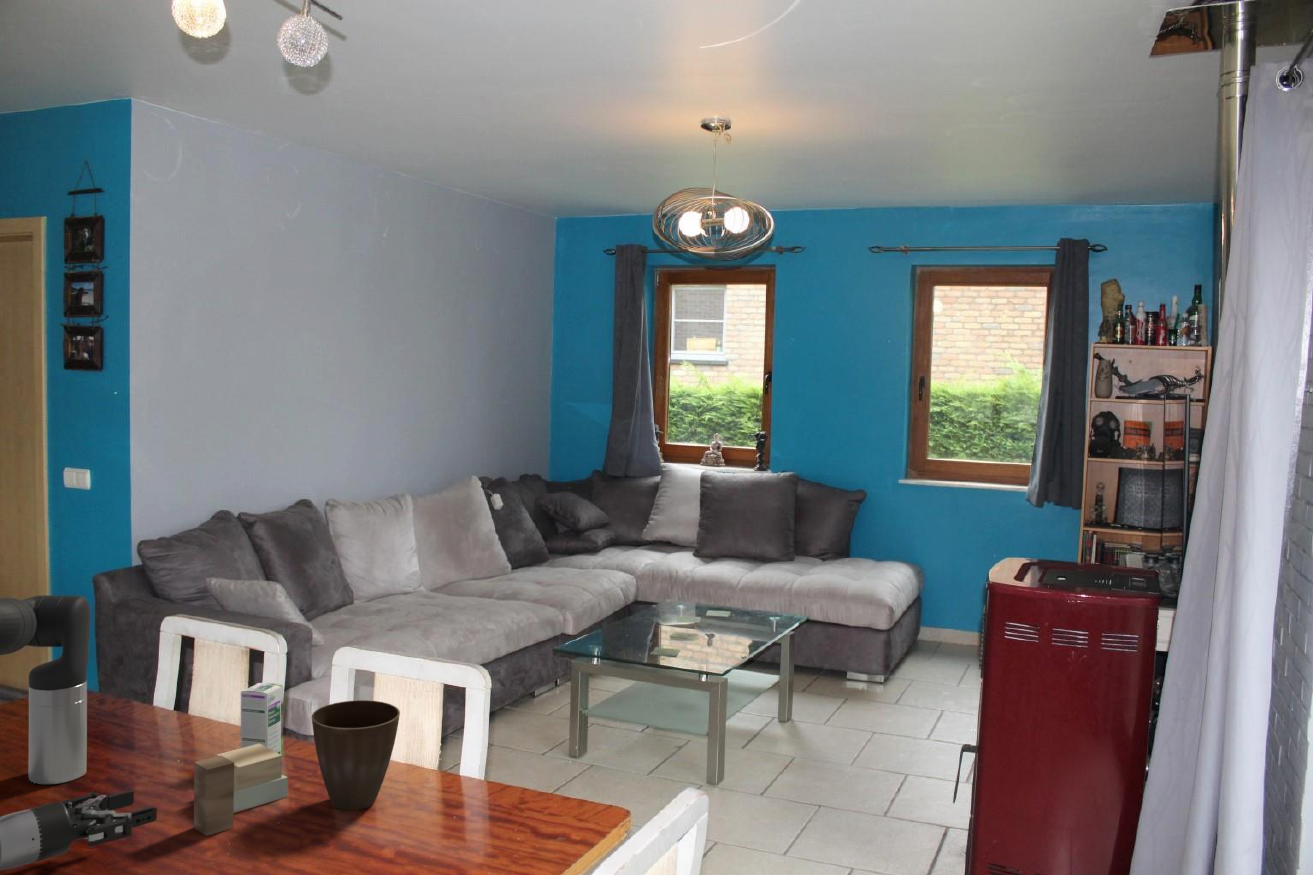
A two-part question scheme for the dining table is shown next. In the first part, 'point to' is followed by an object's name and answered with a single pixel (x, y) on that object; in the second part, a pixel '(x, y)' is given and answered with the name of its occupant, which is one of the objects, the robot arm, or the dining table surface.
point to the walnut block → (213, 795)
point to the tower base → (260, 794)
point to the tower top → (254, 765)
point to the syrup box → (262, 716)
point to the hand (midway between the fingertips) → (144, 804)
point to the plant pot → (354, 749)
